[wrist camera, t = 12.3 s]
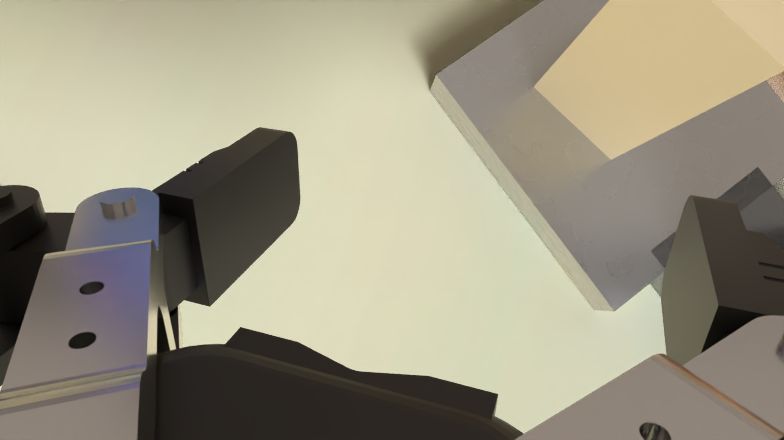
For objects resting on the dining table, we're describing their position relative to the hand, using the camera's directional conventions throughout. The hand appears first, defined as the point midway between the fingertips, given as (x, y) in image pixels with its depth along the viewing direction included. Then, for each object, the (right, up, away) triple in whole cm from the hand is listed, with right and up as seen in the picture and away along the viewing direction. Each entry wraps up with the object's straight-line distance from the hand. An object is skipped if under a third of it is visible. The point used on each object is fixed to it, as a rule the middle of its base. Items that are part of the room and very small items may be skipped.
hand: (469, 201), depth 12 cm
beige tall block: (+7, +5, +13) cm, 16 cm away
